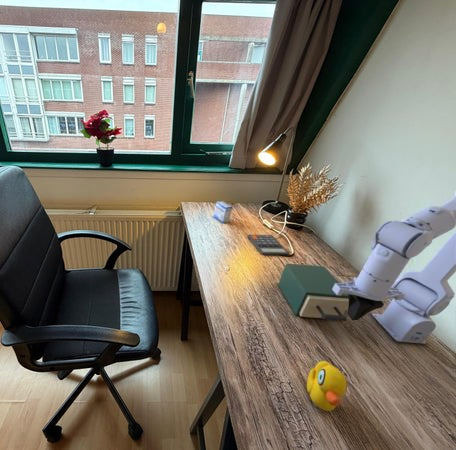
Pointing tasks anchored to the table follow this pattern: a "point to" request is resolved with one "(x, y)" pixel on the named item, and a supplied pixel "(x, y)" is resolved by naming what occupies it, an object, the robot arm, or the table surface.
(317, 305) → the drawer
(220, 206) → the medicine box
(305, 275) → the cabinet
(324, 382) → the duckling
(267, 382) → the table surface
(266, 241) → the calculator
